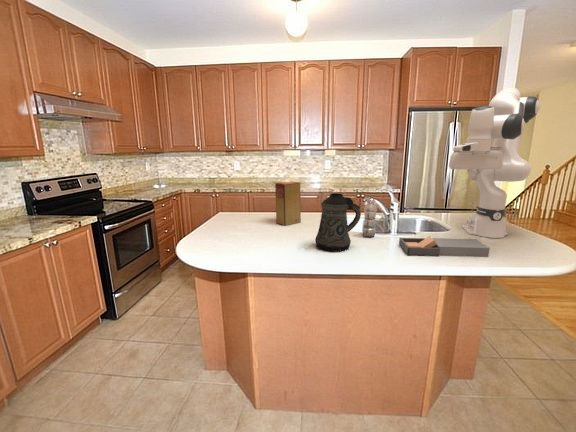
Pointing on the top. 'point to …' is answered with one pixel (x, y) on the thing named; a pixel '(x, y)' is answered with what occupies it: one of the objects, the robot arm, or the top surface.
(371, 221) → the plastic bottle
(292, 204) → the food packaging
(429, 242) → the tile
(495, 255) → the top surface
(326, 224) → the beer stein
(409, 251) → the box
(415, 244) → the tile
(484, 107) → the robot arm
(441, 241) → the plate
